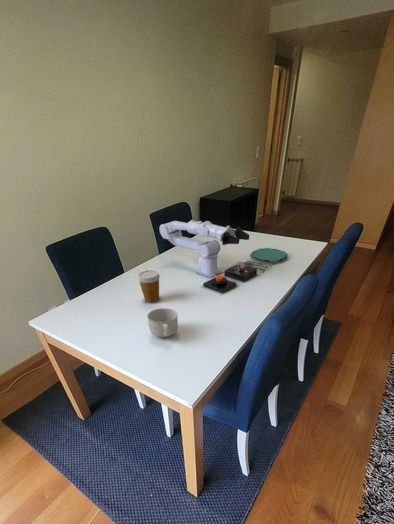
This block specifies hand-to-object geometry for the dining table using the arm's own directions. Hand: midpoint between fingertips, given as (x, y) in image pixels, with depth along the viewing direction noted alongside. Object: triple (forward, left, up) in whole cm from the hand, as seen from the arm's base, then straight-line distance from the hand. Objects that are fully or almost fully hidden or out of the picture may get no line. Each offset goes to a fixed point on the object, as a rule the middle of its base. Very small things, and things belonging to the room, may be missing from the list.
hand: (243, 239), depth 128 cm
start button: (-6, -10, -17) cm, 20 cm away
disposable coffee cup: (-21, -39, -21) cm, 48 cm away
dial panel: (-6, +6, -20) cm, 22 cm away
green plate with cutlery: (-8, +30, -21) cm, 37 cm away
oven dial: (-6, +6, -17) cm, 19 cm away
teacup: (+5, -54, -21) cm, 58 cm away
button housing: (-6, -10, -20) cm, 23 cm away
